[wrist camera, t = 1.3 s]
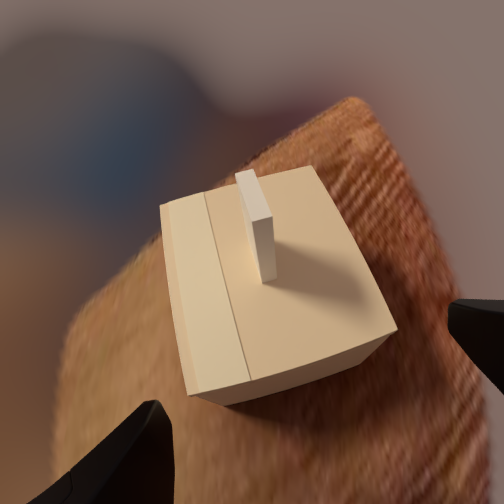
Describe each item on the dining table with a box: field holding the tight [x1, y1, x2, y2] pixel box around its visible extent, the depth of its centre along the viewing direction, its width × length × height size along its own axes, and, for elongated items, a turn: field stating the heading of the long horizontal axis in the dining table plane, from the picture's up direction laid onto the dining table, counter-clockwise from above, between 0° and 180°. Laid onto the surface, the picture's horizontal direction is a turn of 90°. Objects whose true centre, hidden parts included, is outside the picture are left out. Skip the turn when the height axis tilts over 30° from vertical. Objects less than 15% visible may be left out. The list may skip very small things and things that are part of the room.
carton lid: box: [160, 165, 398, 397], centre depth 14 cm, size 12×10×6 cm
